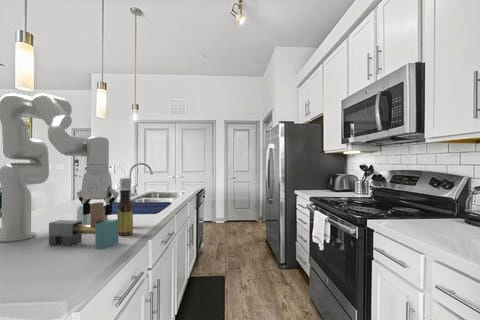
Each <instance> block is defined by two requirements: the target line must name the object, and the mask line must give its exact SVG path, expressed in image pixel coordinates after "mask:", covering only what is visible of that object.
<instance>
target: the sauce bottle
mask: <svg viewBox="0 0 480 320" xmlns="http://www.w3.org/2000/svg"><path fill="white" fill-rule="evenodd" d="M120 194H121V195H120ZM120 196H121V198H120ZM116 211H117V214H116V215H117V219H116V220H119V224H118V236H121V237H122V236H124V237H125V236H130V235H132V234H133V230H134V210H133V203H132V201H131V188H130V189H121V190H120V189H119V203H118V206H117V209H116Z"/></svg>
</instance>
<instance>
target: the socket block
mask: <svg viewBox="0 0 480 320" xmlns="http://www.w3.org/2000/svg"><path fill="white" fill-rule="evenodd" d="M118 224H119V220H117V219H108V220H107V221H103V222H100V223H97V224H96V234H95V241H94V242H95V244H94V245H95V246H94V247H95V249H96V250H106V249H108V248H111V247H112V246H114V245H117V244H119V235H118Z"/></svg>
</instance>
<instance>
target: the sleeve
mask: <svg viewBox="0 0 480 320" xmlns="http://www.w3.org/2000/svg"><path fill="white" fill-rule="evenodd" d="M73 224H82V221H77V220H71V219H70V220H69V219H67V220H66V219H65V220H64V219H60V220H59V219H58V220H55V221H50V222H49V223H48V247H49V246H51V247H54V246H55V247H56V246H59V245H62V247H72V246H75V245H77V244H80V243H83V241H82V239H83V236H82V235H83V233H73Z"/></svg>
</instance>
